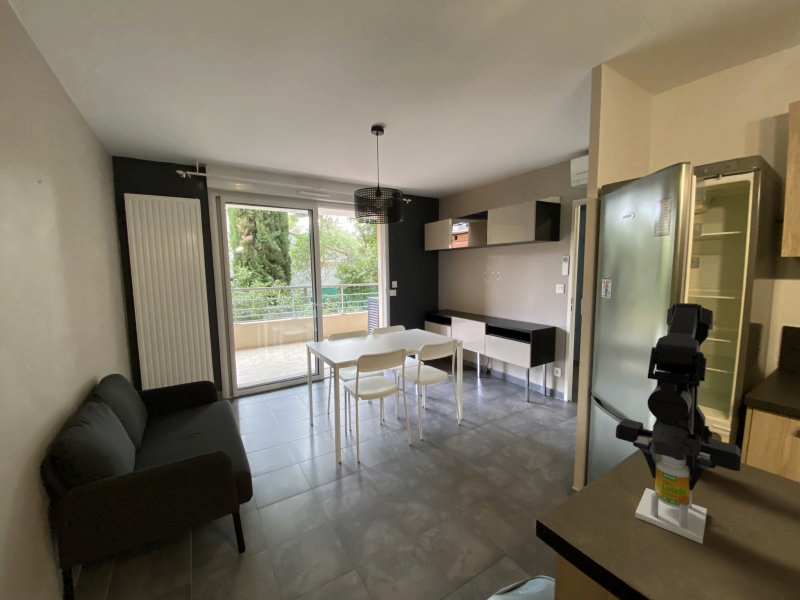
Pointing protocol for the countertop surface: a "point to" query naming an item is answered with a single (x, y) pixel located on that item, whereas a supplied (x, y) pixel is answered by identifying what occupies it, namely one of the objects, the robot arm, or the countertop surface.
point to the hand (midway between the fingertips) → (672, 483)
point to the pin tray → (673, 516)
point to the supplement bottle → (672, 481)
